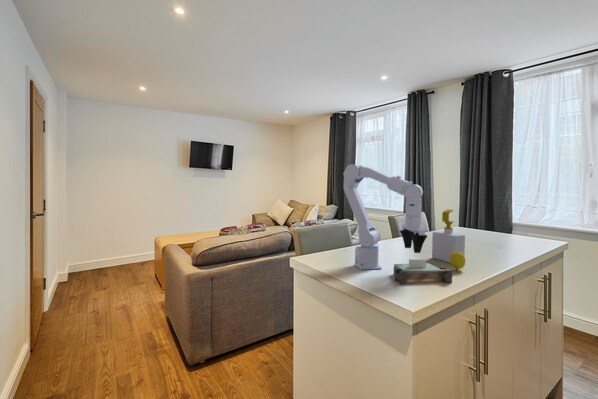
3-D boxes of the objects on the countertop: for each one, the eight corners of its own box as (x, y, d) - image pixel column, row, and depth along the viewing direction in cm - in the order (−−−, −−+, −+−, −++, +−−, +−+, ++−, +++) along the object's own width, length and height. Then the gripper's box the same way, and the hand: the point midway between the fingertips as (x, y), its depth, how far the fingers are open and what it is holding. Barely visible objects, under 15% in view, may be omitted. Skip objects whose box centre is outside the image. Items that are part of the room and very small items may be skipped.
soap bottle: (464, 263, 124) (466, 210, 123) (454, 264, 122) (455, 211, 120) (441, 256, 135) (442, 208, 134) (431, 258, 133) (432, 208, 132)
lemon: (446, 268, 117) (447, 249, 116) (459, 267, 117) (459, 249, 117) (455, 272, 111) (455, 252, 111) (468, 272, 112) (468, 252, 111)
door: (401, 274, 99) (401, 263, 99) (390, 266, 109) (390, 256, 109) (447, 273, 101) (447, 262, 101) (432, 265, 110) (432, 255, 110)
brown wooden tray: (400, 284, 98) (400, 272, 97) (387, 274, 109) (387, 263, 109) (451, 282, 99) (452, 270, 99) (433, 272, 111) (434, 261, 110)
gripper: (433, 217, 101) (432, 254, 102) (414, 213, 116) (413, 245, 117) (414, 217, 101) (413, 255, 102) (397, 213, 115) (396, 246, 116)
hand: (412, 250), depth 109 cm, fingers open, 7 cm apart
